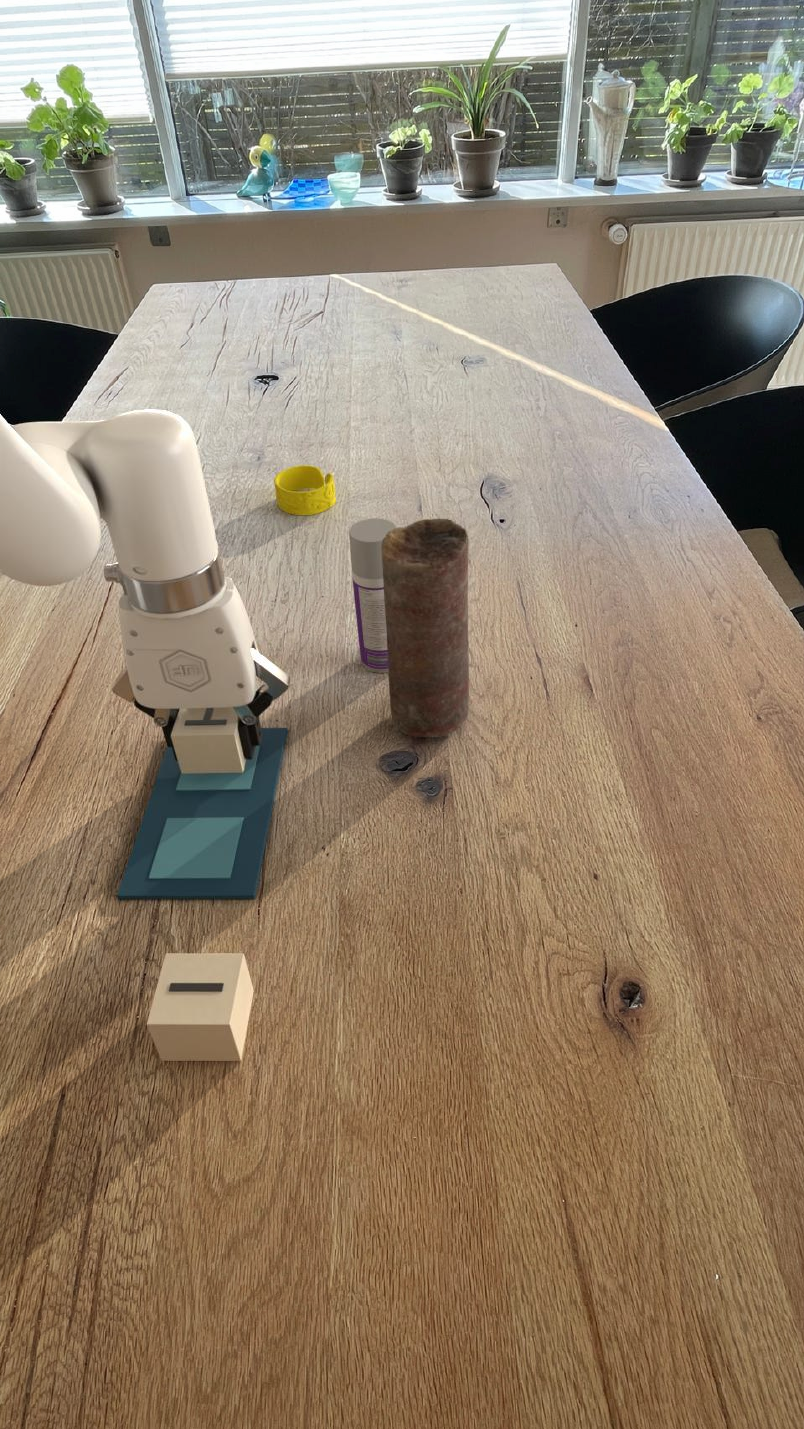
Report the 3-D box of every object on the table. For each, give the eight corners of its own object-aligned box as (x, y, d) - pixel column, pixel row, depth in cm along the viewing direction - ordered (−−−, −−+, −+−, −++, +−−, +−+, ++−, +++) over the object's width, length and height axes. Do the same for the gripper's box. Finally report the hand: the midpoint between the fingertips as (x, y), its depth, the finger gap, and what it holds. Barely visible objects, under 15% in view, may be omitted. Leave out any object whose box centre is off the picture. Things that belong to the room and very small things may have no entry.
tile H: (181, 773, 83) (170, 734, 80) (194, 732, 87) (183, 693, 84) (243, 772, 83) (234, 733, 80) (253, 731, 87) (244, 692, 84)
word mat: (117, 899, 75) (115, 895, 75) (173, 733, 90) (172, 728, 90) (254, 899, 74) (253, 894, 74) (287, 731, 90) (287, 726, 89)
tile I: (161, 1060, 64) (145, 1023, 61) (178, 990, 68) (165, 952, 66) (241, 1061, 64) (229, 1023, 61) (254, 990, 68) (243, 952, 65)
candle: (477, 742, 87) (477, 552, 74) (398, 754, 86) (384, 565, 73) (460, 691, 93) (456, 507, 80) (386, 702, 92) (370, 518, 79)
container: (366, 644, 100) (354, 516, 90) (410, 647, 99) (402, 518, 89) (355, 671, 96) (342, 541, 87) (401, 675, 95) (392, 544, 86)
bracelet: (306, 521, 121) (302, 498, 119) (265, 503, 125) (261, 480, 123) (347, 499, 125) (344, 476, 123) (305, 482, 129) (302, 460, 127)
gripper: (50, 607, 71) (112, 780, 83) (277, 600, 70) (307, 777, 81) (80, 554, 77) (134, 724, 88) (290, 548, 75) (317, 720, 87)
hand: (217, 748), depth 85 cm, fingers closed on tile H, 5 cm apart
